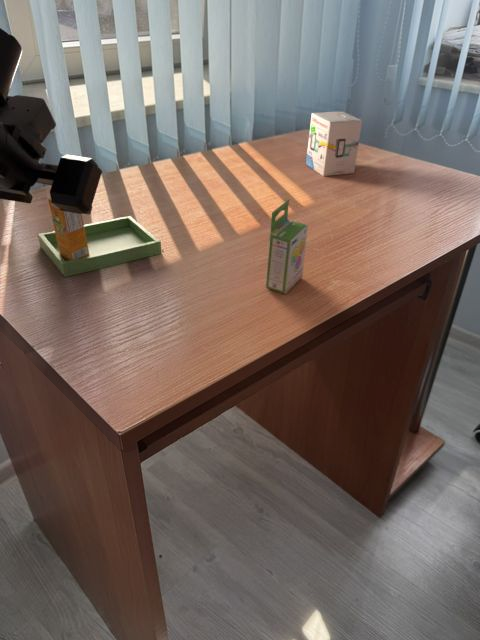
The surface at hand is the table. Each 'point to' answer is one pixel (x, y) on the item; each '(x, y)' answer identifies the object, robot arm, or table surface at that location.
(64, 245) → the supplement box
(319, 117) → the ink box
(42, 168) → the robot arm
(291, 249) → the ink box
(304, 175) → the table surface
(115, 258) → the green tray
